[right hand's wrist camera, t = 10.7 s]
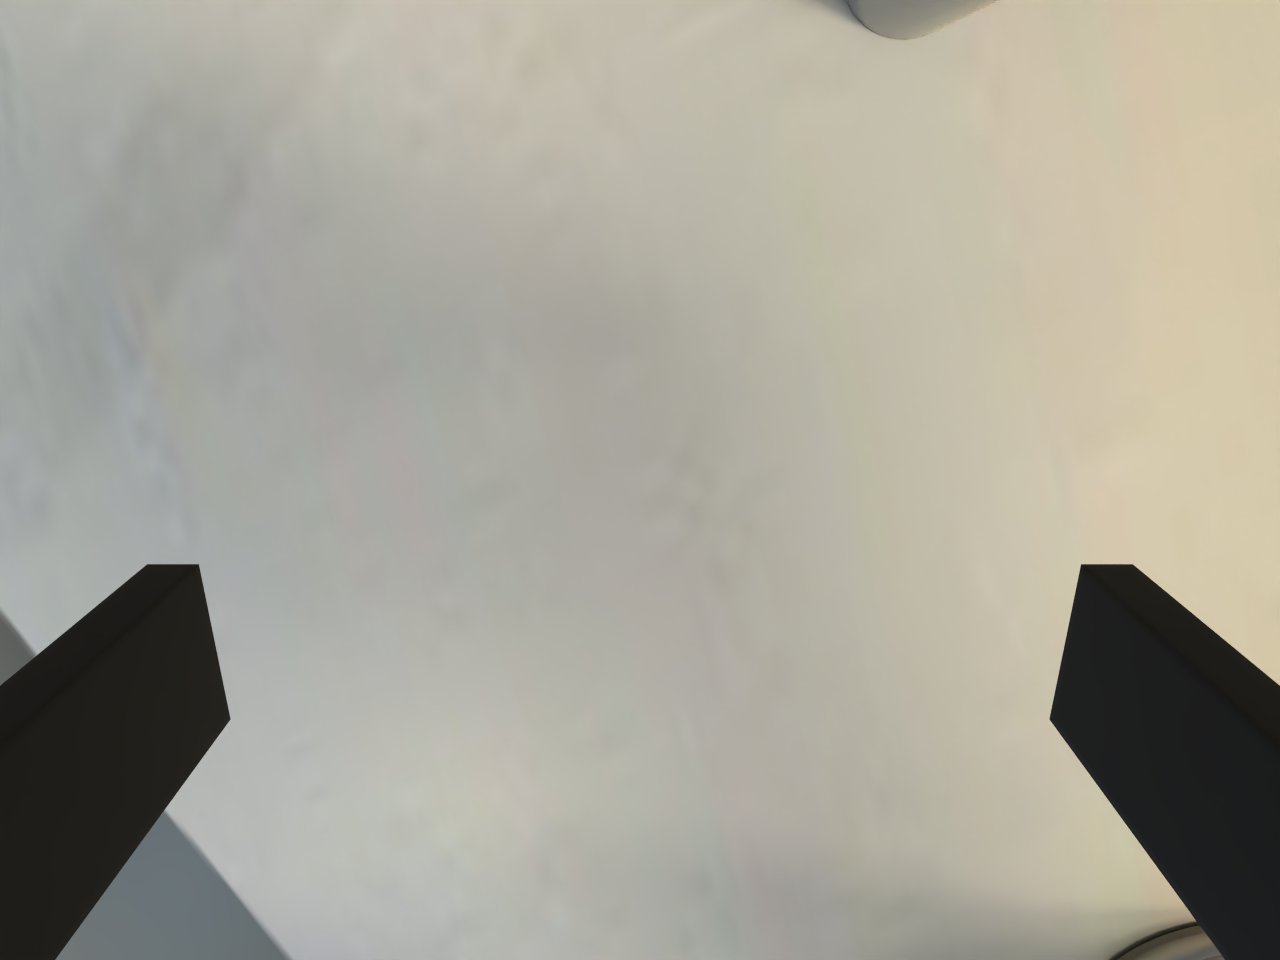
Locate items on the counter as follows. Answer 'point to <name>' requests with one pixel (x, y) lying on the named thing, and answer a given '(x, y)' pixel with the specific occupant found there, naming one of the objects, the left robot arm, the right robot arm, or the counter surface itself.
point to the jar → (912, 15)
